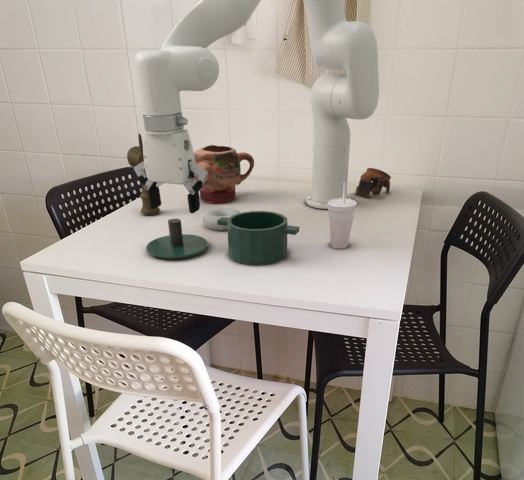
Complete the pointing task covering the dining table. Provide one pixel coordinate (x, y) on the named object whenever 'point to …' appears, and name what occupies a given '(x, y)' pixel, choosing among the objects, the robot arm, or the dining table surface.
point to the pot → (257, 237)
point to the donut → (217, 217)
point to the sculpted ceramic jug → (221, 172)
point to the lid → (176, 243)
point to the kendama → (136, 158)
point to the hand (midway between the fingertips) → (175, 209)
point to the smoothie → (341, 219)
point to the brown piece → (377, 184)
